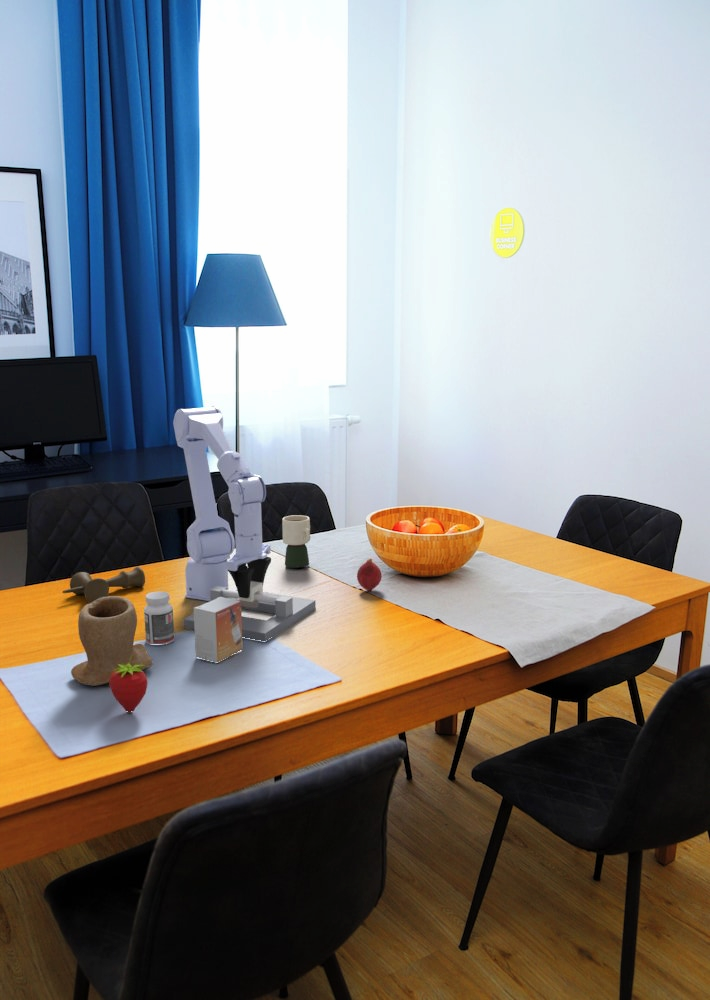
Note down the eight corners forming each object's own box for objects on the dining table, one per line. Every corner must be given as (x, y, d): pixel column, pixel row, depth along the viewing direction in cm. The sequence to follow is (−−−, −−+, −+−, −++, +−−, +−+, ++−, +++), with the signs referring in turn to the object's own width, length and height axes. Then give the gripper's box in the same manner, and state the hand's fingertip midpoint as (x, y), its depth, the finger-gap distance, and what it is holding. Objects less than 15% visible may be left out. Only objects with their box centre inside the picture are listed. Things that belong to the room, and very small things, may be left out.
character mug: (320, 568, 229) (320, 519, 226) (298, 574, 224) (297, 524, 222) (295, 559, 237) (294, 512, 234) (273, 565, 233) (272, 516, 230)
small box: (217, 665, 170) (214, 612, 168) (194, 659, 173) (192, 607, 170) (243, 651, 177) (241, 600, 174) (221, 645, 179) (219, 595, 177)
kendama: (152, 592, 214) (72, 609, 201) (133, 584, 221) (54, 600, 208) (151, 568, 212) (70, 584, 200) (131, 560, 220) (53, 575, 207)
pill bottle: (179, 637, 183) (177, 592, 181) (165, 648, 178) (162, 600, 176) (155, 634, 185) (152, 589, 183) (140, 644, 180) (137, 598, 178)
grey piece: (183, 628, 189) (182, 602, 188) (239, 596, 208) (238, 573, 207) (265, 642, 180) (264, 616, 179) (315, 608, 200) (315, 584, 199)
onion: (379, 595, 208) (379, 562, 206) (354, 594, 209) (354, 561, 208) (383, 587, 214) (383, 555, 212) (359, 586, 215) (359, 554, 213)
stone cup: (94, 698, 156) (88, 617, 153) (64, 677, 165) (57, 600, 161) (169, 673, 166) (165, 596, 163) (136, 655, 175) (132, 582, 171)
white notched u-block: (235, 604, 192) (234, 587, 191) (248, 597, 197) (247, 580, 196) (255, 608, 190) (254, 590, 189) (267, 600, 195) (266, 583, 194)
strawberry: (135, 699, 156) (131, 645, 153) (157, 714, 150) (153, 658, 148) (103, 710, 152) (99, 655, 149) (125, 725, 146) (121, 668, 144)
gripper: (246, 543, 182) (248, 606, 185) (281, 527, 195) (283, 586, 198) (217, 539, 185) (220, 601, 188) (254, 523, 198) (256, 582, 201)
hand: (250, 593), depth 193 cm, fingers closed on white notched u-block, 5 cm apart
